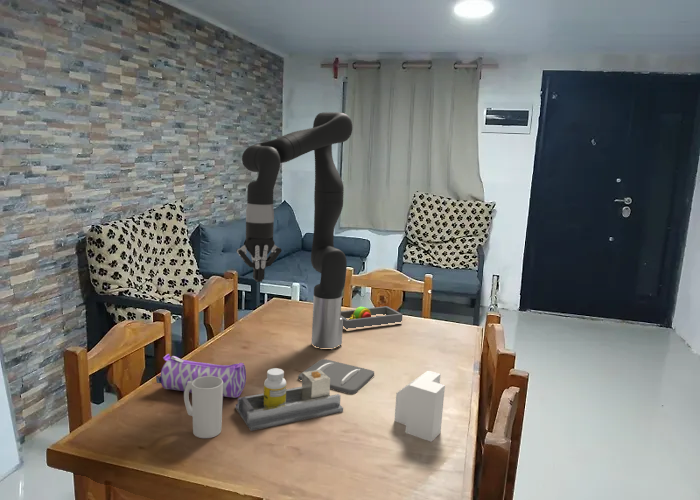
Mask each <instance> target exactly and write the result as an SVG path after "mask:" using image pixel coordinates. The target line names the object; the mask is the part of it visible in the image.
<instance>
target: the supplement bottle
mask: <svg viewBox="0 0 700 500" xmlns="http://www.w3.org/2000/svg"><path fill="white" fill-rule="evenodd" d="M284 376H285V371H284V370H283V369H282V368H277V367H274V368H269V369H268V370H267V372H266V377H267V378H266V379H265V380H264V383H263V393H264V408H269V407H274V406H279V405H284V404H286V389H287V380H286V379H285V378H284Z"/></svg>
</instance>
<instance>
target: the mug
mask: <svg viewBox="0 0 700 500" xmlns="http://www.w3.org/2000/svg"><path fill="white" fill-rule="evenodd" d="M191 389H192V393H191V402H190V399H189V398H190V397H189V396H190V393H189V391H190V390H191ZM223 399H224V396H223V380H222V379H221V378H219V377H215V376H203V377H199V378H196V379H195V380H193V381H192V382H191V381H188V382H187V386H186V388H185V391H183V400H184V405H185V409H186V413H187V416H191V417H192V433H193V435H194V436H195V437H196V438H200V439H211V438H214V437H217V436H219V434H221V432H222V424H223V422H222V420H223Z"/></svg>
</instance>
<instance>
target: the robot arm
mask: <svg viewBox="0 0 700 500" xmlns="http://www.w3.org/2000/svg"><path fill="white" fill-rule="evenodd" d="M352 133H353V122H352V119H351V117H350V116H349V115H348V114H346V113H343V112H337V111H336V112H334V111H333V112H329V111H328V112H327V111H326V112H319V113H317V115H315V117H314V120H313V126H312V127H309V128H306V129H302V130H296V131H292V132H289V133H287V134H284V135H282V136H279V137H276V138H275V139H272V140H267V141H262V142H259V143H254V144H252V145H249V146H248V147H247V148H245V150H244V151H243V153H242V155H241V156H242V157H241V162H242V165H243V166H244V168H245V169H246V170H248V171H249V172H254V173H257V174H258V175H257V178H256V180H255V181H254V180H253V181H250V182H249V183H248V184H247V197H246V210H245V239H244V242H243V245H242V246H241V247H240V248H237V249H236V253H237V254H238V256H239V257H240V259H241V260H242V261H243V262H244V263H245V264H246V265H247V266H248V267H249V268H252V269H253V270H252V279H254V281H255V282H256V283H261V282H263V280H265V274H266V273H265V270H266V269H265V268H267V267H271V266H272V265H273V263H274V262H275V260H277V258H278V256H279V255H280V254H281V253H282V251H283V250H282V248H281V247H278V246H277V245H276V244H275V243H276V242H275V240H274V229H275V228H274V221H275V210H274V188H275V186H276V182H277V178H278V175H279V172H280V170H281V168H280V167H281V163H282V164H285V163H287V162H290V161H292V160H294V159H297V158H299V157H300V156H303V155H305V154H308V153H309V152H313V151H314V195H313V196H314V197H313V198H314V200H313V201H314V215H313V218H314V219H313V238H312V244H311V251H310V252H311V253H310V262H311V263H310V264H311V266H312V268H313V270H315V271H316V272H318V273H319V274H321V275H320V281H319V283H318V284H316V285H315V286H314V287H313V298H312V299H313V302H312V303H313V306H312V323H311V325H312V327H311V328H312V329H311V345H312V344H313V345H314V346H316V347H319V348H334V347H337V346H338V345H341V344H342V343H343V341H342V340H343V319H342V318H341V311H342V297H343V291H344V289H345V286H346V276H347V266H348V265H347V263H348V262H347V257H346V254H345V253H344V251H342V250H341V249H339V248H336V247H335V246H334V244H335V242H334V237H335V236H334V233H335V229H336V225H337V222H338V220H339V218H340V216H341V214H342V211H343V206H344V183H343V180H342V177H341V175H340V173H339V170H338V169H337V167H336V164H335V163H334V158H333V146H332V145H335V144H340V143H341V144H342V143H344V142H346V141H348V139H349V138H351V135H352ZM247 253H249V254H250V255H251V256H250V257H251V259H250V258H249V256H248V255H247ZM342 345H343V344H342Z"/></svg>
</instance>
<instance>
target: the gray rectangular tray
mask: <svg viewBox="0 0 700 500" xmlns="http://www.w3.org/2000/svg"><path fill="white" fill-rule="evenodd" d="M368 309H369V310H370V312H371V315H376V314H386V315H385V316H376V317H368V318H359V319H351V320H347V319H346V318H350V317H351V315H353V313H354V311H355V310H356V309H349V310H341V318H342V319H343V326H344V327H345V328H346V329H348V328H356V327H364V326H372V325H381V324H388V323H395V322H401V321H402V322H403V313H401V312H398V311H397V310H396V309H394V308H391V307H390V306H387V305H386V306H377V307H368Z"/></svg>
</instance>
